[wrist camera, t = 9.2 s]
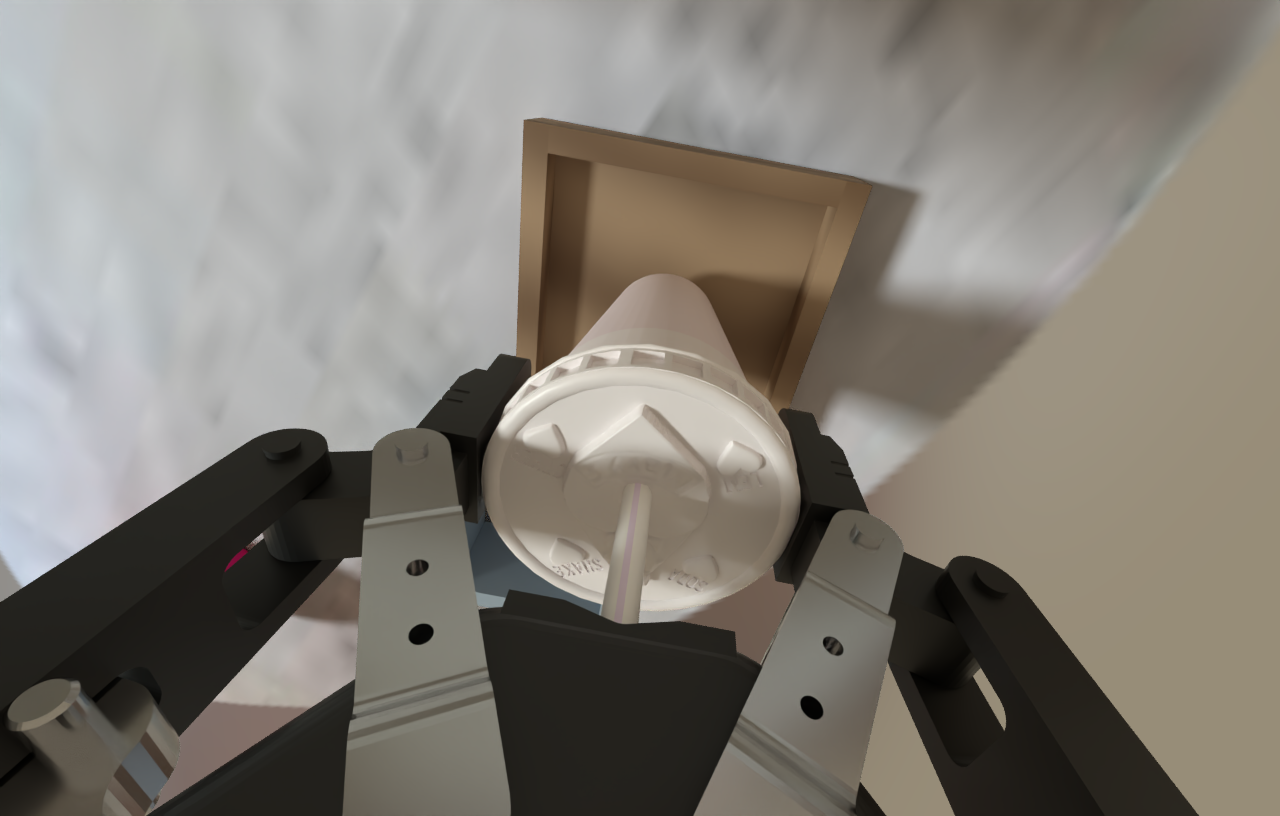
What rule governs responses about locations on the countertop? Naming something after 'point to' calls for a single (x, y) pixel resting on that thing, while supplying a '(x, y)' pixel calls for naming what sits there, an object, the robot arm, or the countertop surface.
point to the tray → (679, 242)
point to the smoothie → (644, 462)
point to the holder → (507, 571)
